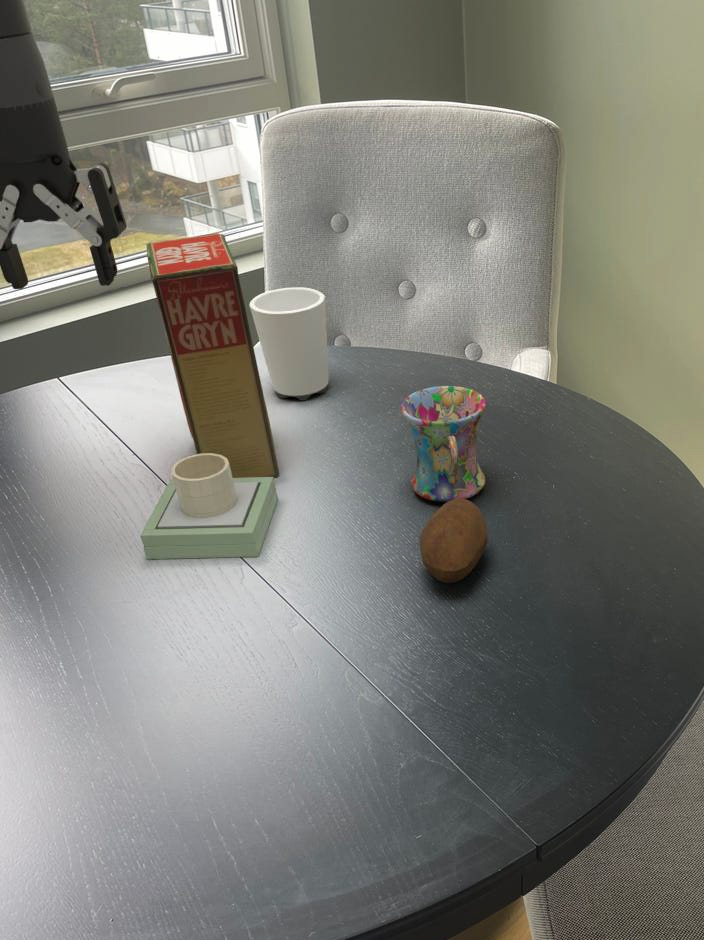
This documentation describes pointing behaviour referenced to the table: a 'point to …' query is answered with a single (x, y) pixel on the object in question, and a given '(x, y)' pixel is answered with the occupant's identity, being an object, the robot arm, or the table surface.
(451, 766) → the table surface
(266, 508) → the scale
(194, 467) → the beige round pot
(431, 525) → the potato
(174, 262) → the food packaging
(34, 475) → the table surface
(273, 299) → the cup
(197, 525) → the pan
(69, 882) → the table surface
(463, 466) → the mug
